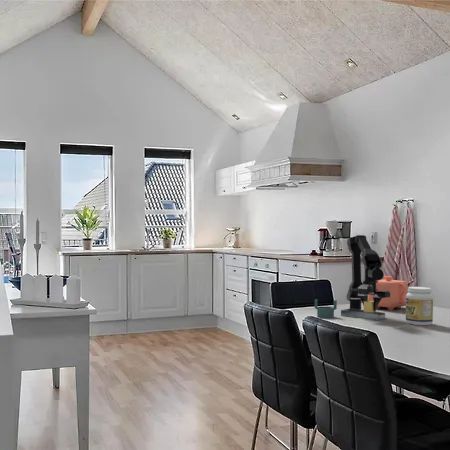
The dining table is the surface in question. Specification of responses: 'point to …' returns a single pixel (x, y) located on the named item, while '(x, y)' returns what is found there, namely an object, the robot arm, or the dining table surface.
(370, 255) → the robot arm
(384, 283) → the teapot
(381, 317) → the rail
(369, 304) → the block
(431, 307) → the supplement tub
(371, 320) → the pad
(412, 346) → the dining table surface
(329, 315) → the bracket
